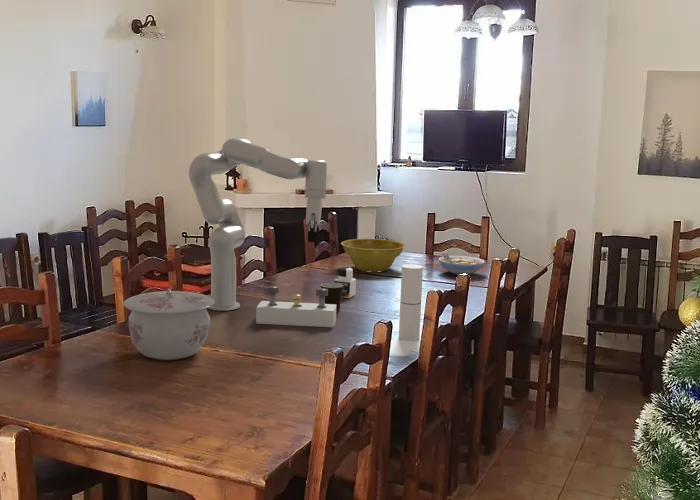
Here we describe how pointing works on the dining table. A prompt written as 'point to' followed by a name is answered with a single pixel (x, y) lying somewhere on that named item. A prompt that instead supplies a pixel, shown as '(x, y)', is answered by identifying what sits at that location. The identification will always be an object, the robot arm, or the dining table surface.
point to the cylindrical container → (410, 302)
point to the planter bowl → (372, 253)
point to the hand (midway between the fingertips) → (313, 239)
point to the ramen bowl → (461, 264)
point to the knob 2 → (322, 296)
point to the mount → (296, 314)
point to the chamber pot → (169, 323)
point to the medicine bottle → (346, 282)
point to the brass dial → (296, 300)
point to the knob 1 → (272, 294)
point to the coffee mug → (333, 294)
